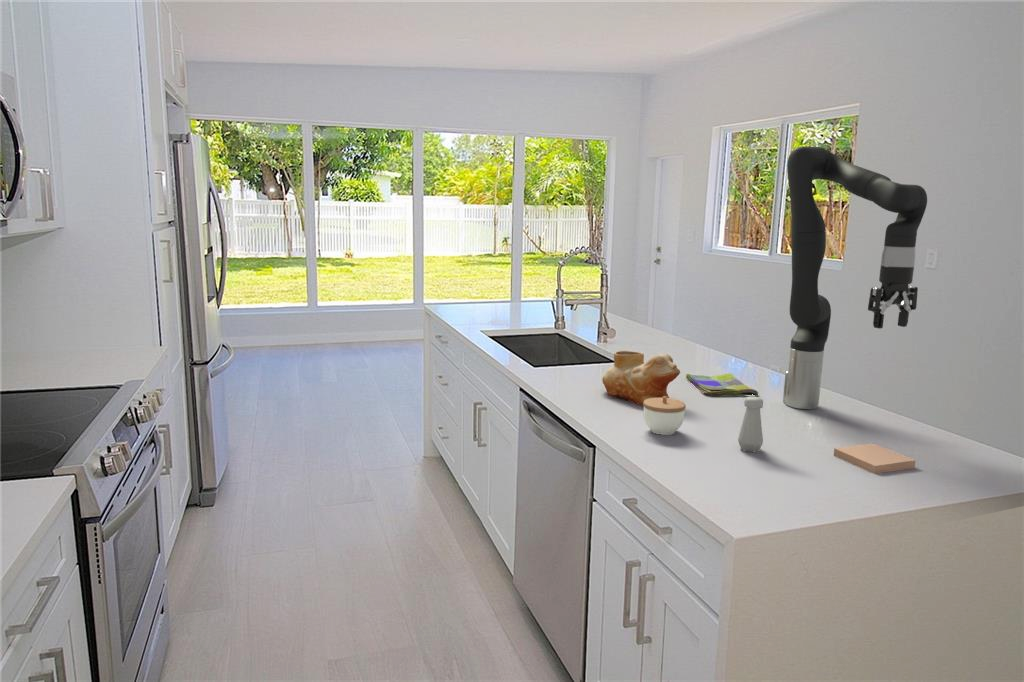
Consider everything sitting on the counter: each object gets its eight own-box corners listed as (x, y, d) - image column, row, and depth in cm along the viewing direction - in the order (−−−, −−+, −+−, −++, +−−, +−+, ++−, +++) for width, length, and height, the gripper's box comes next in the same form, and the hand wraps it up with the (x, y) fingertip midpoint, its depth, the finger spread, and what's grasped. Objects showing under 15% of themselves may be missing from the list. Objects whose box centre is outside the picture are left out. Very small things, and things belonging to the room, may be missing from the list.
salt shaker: (746, 454, 169) (750, 401, 166) (732, 446, 174) (736, 395, 172) (767, 452, 171) (771, 400, 168) (752, 444, 176) (757, 393, 174)
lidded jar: (653, 439, 179) (655, 403, 177) (635, 426, 189) (636, 392, 187) (691, 436, 182) (693, 401, 180) (671, 424, 192) (673, 390, 190)
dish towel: (733, 379, 245) (734, 372, 244) (760, 398, 221) (761, 389, 221) (683, 379, 244) (684, 371, 244) (704, 398, 220) (705, 389, 220)
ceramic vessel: (659, 411, 203) (662, 360, 201) (592, 392, 223) (594, 346, 220) (688, 403, 212) (691, 354, 209) (621, 386, 232) (623, 341, 229)
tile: (834, 448, 169) (874, 465, 158) (873, 443, 173) (915, 460, 162) (833, 457, 169) (873, 475, 158) (872, 452, 173) (914, 469, 162)
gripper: (904, 262, 186) (897, 323, 190) (864, 263, 181) (857, 326, 184) (930, 265, 180) (922, 328, 183) (889, 266, 174) (882, 331, 177)
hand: (890, 327), depth 183 cm, fingers open, 8 cm apart
